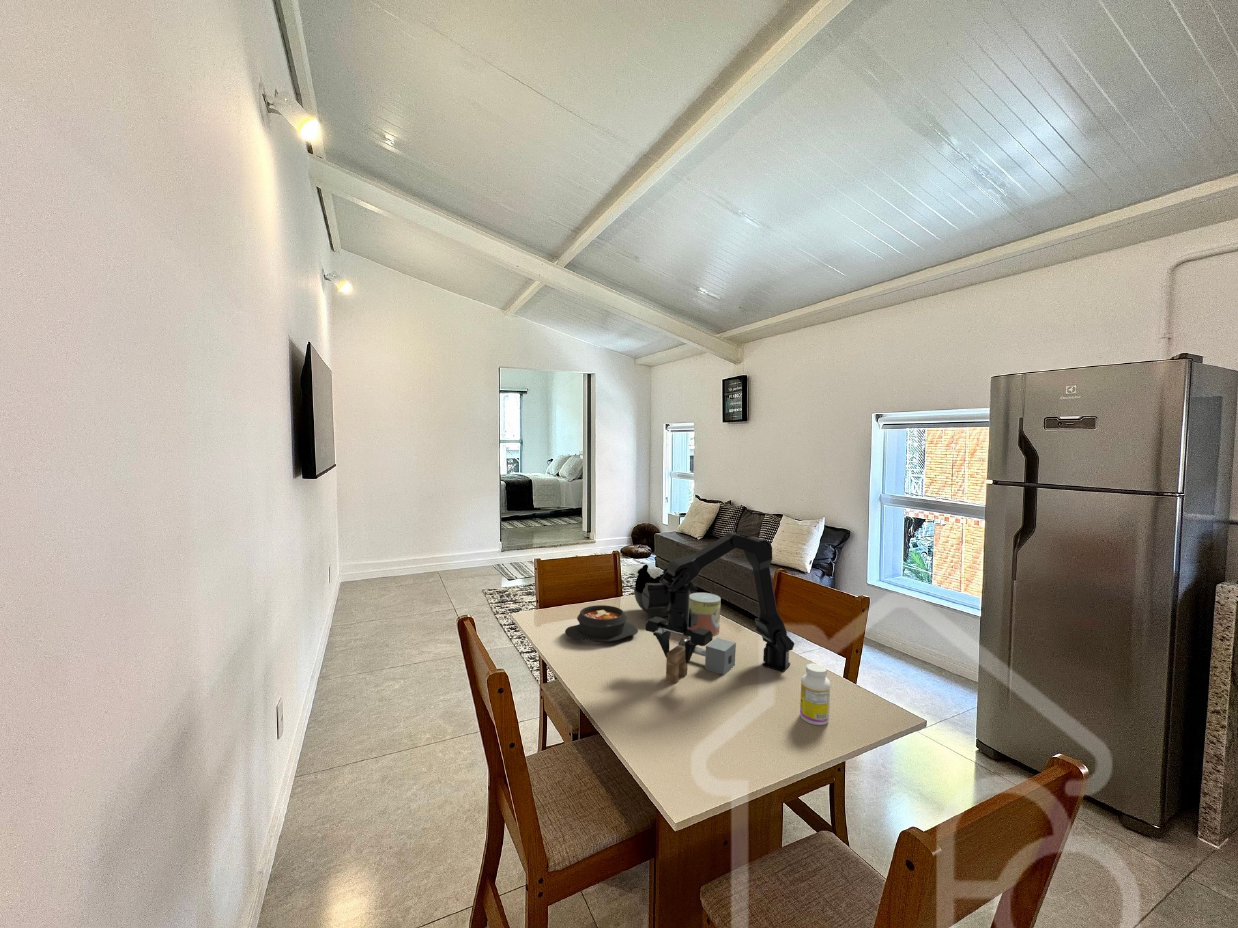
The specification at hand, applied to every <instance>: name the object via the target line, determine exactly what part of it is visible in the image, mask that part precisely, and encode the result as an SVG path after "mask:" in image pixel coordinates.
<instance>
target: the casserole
mask: <svg viewBox="0 0 1238 928" xmlns="http://www.w3.org/2000/svg"><path fill="white" fill-rule="evenodd" d="M576 620H577V621H578V623H579V624H575V625H570V626H568V627H567V628H566V629H565V630H564V633H565V635H566V637H568V638H570V639H571V640H574V641H587V642H588V641H589V642H595V643H609V642H616V641H619V640H622V639H624V638H628V637H632V636H635V635H636V634H638V632H639V629H638V627H636V626H635V625H634V624H633V623H630V622H627V621H628V617H627V616H626V613H625V612H624V610H623V609H622V608H620V607H616V606H612V605H606V604H605V605H602V604H599V605H591V606H587V607H584V608H581V610H580V612H579V614H578V616H577V617H576Z"/></svg>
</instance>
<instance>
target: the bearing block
mask: <svg viewBox="0 0 1238 928" xmlns="http://www.w3.org/2000/svg"><path fill="white" fill-rule="evenodd" d="M736 644H737V642H735V641H732V640H727V639H723V638H720V637H716V638H715V639H714V640H713V639H712V641H711V642H709V643H708V644H707V645H705V650H706V657H705V656H704V657H705V660H704V662H705V663H704V670H705V671H706V670H707V671H710V672H713V673H716V674H719V675H723V676H725V675H726V674H727V673H728V672H730V671H731V670H732V669H731V668H734V667H735V666H736V647H737V645H736ZM733 666H734V667H733Z"/></svg>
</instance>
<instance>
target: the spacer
mask: <svg viewBox="0 0 1238 928" xmlns="http://www.w3.org/2000/svg"><path fill="white" fill-rule="evenodd" d="M665 662H666V663H665V664H666V665H665V666H666V667H665V669H666V670H665V681H666V682H669V683H671V684H675V685H676V684H677V683H679V676H680V677H681V678H682V677H683V678H685V677H686V676H688V664H689V663H688V664H686V661H685V646H681V645H679V644H677V645H676V646H675V647H674V648H671V649H669V652H667V658H666V661H665Z"/></svg>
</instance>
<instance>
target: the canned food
mask: <svg viewBox="0 0 1238 928" xmlns="http://www.w3.org/2000/svg"><path fill="white" fill-rule="evenodd" d="M721 599H722V598H721V597H720V595H717V594H714V593H711V592H710V593H709V592H693V593H690V600H689V608H691V610H692V613H693V614H697V615H699V616H698V621H697V626H695V625H693V627H691V628H690V627H689V629H690V630H693V631H695V630H696V629H698V628H703V629H707V630H710V631H711V632H712V634H713V637H715V636H718V635H719V634H720V632H721V630H720V629H721V627H720V625H721V624H720V623H721Z"/></svg>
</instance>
